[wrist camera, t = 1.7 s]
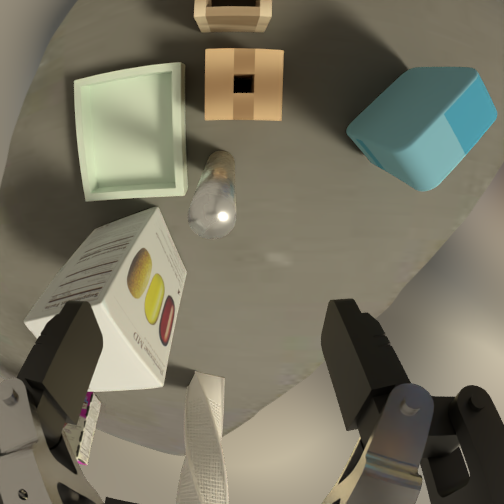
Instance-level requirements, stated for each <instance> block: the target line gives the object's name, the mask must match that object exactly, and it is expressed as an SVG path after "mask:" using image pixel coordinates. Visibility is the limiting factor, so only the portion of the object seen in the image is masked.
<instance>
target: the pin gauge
mask: <svg viewBox="0 0 504 504" xmlns="http://www.w3.org/2000/svg"><path fill="white" fill-rule="evenodd" d="M188 222H189V225H190V227H191V228H192V230H193V231H194V232H195V233H196V234H198V235H199V236H201V237H203V238H207V239H218V238H221V237H224V236H225V235H227V234H228V233H229V232H230V231H231V230H232V229H233V227H234V225H235V222H236V193H235V161H234V158H233V157H232V155H231V154H230V153H228V152H226V151H216V152H214V153H212V154H211V155H210V157H209V158H208V161H207V163H206V166H205V168H204V171H203V173H202V176H201V178H200V181H199V184H198V186H197V189H196V191H195V194H194V197H193V199H192V202H191V205H190V208H189V211H188Z"/></svg>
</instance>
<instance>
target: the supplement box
mask: <svg viewBox="0 0 504 504" xmlns="http://www.w3.org/2000/svg"><path fill="white" fill-rule="evenodd" d="M186 274H187V272H186V270H185V267H184V265H183V263H182V261H181V258H180V256H179V254H178V252H177V249H176V247H175V245H174V242H173V240H172V238H171V235H170V233H169V231H168V228H167V226H166V224H165V221H164V219H163V216H162V214H161V212H160V210H159V207H153V208H150V209H147V210H144V211H141V212H138V213H136V214H133V215H130V216H127V217H125V218H122V219H119V220H117V221H114V222H111V223H109V224H106V225H104V226H101V227H99V228H96V229H95V230H94V231H93V232H92V233H91V234H90V235H89V236H88V237H87V238H86V240H85V241H84V242H83V243H82V244H81V245H80V247H79V248H78V249H77V250H76V251H75V253H74V254H73V255H72V256H71V257H70V259H69V260H68V261H67V263H66V264H65V265H64V266H63V267H62V268H61V269H60V270H59V272H58V273H57V275H56V276H55V277H54V278H53V280H52V281H51V283H50V284H49V285H48V287H47V288H46V289H45V291H44V292H43V293H42V295H41V296H40V298H39V299H38V300H37V302H36V303H35V305H34V306H33V307H32V309H31V310H30V312H29V313H28V315H27V316H26V318H25V319H24V323H25V325H26V326H27V327H28V329H29V330H30V331H31V332H32V333H33V335H34V336H35V337H36V338H37V339H38V337H39V336H41V332H42V330H43V329H44V327H45V325H46V324H47V322H48V321H50V320H51V319H52V318H53V317H54V316H55V315H56V314H59V313H60V311H61V310H62V308H63V307H64V305H65V303H66V302H67V301H69V300H73V301H87V302H89V303H90V305H91V307H92V309H93V312H94V315H95V317H96V320H97V323H98V325H99V328H100V330H101V332H102V336H103V349H102V352H101V355H100V358H99V360H98V363H97V366H96V368H95V371H94V374H93V377H92V380H91V382H90V385H89V388H88V391H87V392H99V391H120V390H136V389H150V388H157V387H162V386H163V385H164V380H165V375H166V369H167V363H168V358H169V353H170V348H171V343H172V338H173V333H174V328H175V323H176V318H177V314H178V309H179V305H180V300H181V296H182V291H183V287H184V283H185V279H186Z"/></svg>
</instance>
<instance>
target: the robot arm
mask: <svg viewBox="0 0 504 504" xmlns="http://www.w3.org/2000/svg"><path fill="white" fill-rule="evenodd" d="M35 343H36V345H34V346H33V348H32V349H31V351H30V353H29V355H28V357H27V359H26V361H25V363H24V364H23V366H22V368H21V370H20V372H19V374H18V376H17V378H8V379H5V380H4V381H2V382H1V383H0V504H137V503H131V502H126V501H121V500H117V499H113V498H108V497H106V500H105V503H103V501H102V499H101V498H100V496H99V495H98V493H97V492H96V490H95V489H94V488H93V487H92V486H91V484H90V483H89V482H88V481H87V479H86V478H85V476H84V475H83V472H82V470H81V468H80V466H79V464H78V462H77V459H76V457H75V455H74V453H73V450H72V448H71V445H70V443H69V440H68V438H67V435H66V433H65V431H64V430H63V427H64V424H65V423H69V424H73V425H77V423H78V420H79V416H80V413H81V410H82V407H83V403H84V400H85V397H86V394H87V391H88V388H89V385H90V382H91V380H92V377H93V374H94V371H95V368H96V366H97V363H98V360H99V358H100V355H101V352H102V349H103V336H102V332H101V330H100V328H99V325H98V323H97V320H96V317H95V315H94V312H93V309H92V307H91V305H90V303H89V302H87V301H73V300H69V301H67V302H66V303H65V305H64V307H63V308H62V310H61V311H60V313H59V314H56V315H55V316H54V317H53V318H52V319H51V320H50V321H48V322H47V324H46V325H45V327H44V329H43V330H42V332H41V336H39V337H38V339H37V341H36V342H35ZM321 346H322V351H323V354H324V358H325V361H326V364H327V367H328V370H329V374H330V377H331V380H332V383H333V387H334V390H335V393H336V397H337V400H338V403H339V407H340V410H341V413H342V417H343V420H344V424H345V427H346V430H347V431H349V430H354V429H358V430H359V433H360V438H359V439H358V441H357V444H356V446H355V448H354V450H353V452H352V454H351V456H350V458H349V460H348V462H347V464H346V465H345V467H344V469H343V471H342V473H341V475H340V477H339V478H338V481H337V482H336V484H335V485H334V487H333V488H332V490H331V491H330V492H329V494H328V495H327V496H326V498H325V499H324V501H323V502H322V504H415V503H416V501H417V498H418V495H419V493H420V489H421V486H422V476H421V475H419V474H418V468H419V464H420V465H421V468H422V471H423V475H424V479H425V482H426V486H427V490H428V494H429V498H430V502H431V504H504V424H503V422H502V420H501V418H500V416H499V414H498V412H497V410H496V408H495V405H494V404H493V402H492V400H491V398H490V396H489V394H488V393H487V392H486V391H485V390H484V389H482V388H480V387H478V386H474V385H470V386H466V387H464V388H463V389H462V390H461V391H460V392H459V393H458V395H457V396H456V397H435V396H431V395H430V394H429V392H428V391H426V390H425V389H424V388H423V387H421V386H419V385H416V384H412V383H411V382H410V381H409V379H408V377H407V375H406V373H405V371H404V369H403V367H402V365H401V363H400V361H399V359H398V357H397V355H396V353H395V351H394V349H393V348H392V346H390V342H389V340H388V338H387V337H386V336H385V332H384V331H383V329H382V327H381V325H380V323H379V322H378V321H377V320H376V319H375V318H373V317H372V316H371V315H370V314H369V313H361V311H360V310H359V308H358V306H357V304H356V302H355V300H354V299H338V300H330V302H329V304H328V308H327V312H326V317H325V321H324V325H323V330H322V334H321ZM459 446H461V448H462V451H463V454H464V457H465V460H466V463H467V465H468V468H469V472H470V477H469V474H468V471H467V468H466V465H465V462H464V459H463V456H462V453H461V450H460V448H459Z"/></svg>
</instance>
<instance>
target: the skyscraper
mask: <svg viewBox="0 0 504 504" xmlns="http://www.w3.org/2000/svg"><path fill="white" fill-rule="evenodd" d="M224 387H225V378H223V377H218V376H214V375H209V374H205V373H201V372H197V371H195V374H194V376H193V378H192V380H191V382H190V384H189V386H187V393H186V401H185V412H184V440H185V450H186V457H185V460H184V463H183V467H182V470H181V475H180V480H179V485H178V491H177V498H176V504H229V498H228V497H229V495H228V482H227V473H226V466H225V460H224V454H223V450H222V446H221V439H222V428H223V412H224ZM224 491H225V492H224Z"/></svg>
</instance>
